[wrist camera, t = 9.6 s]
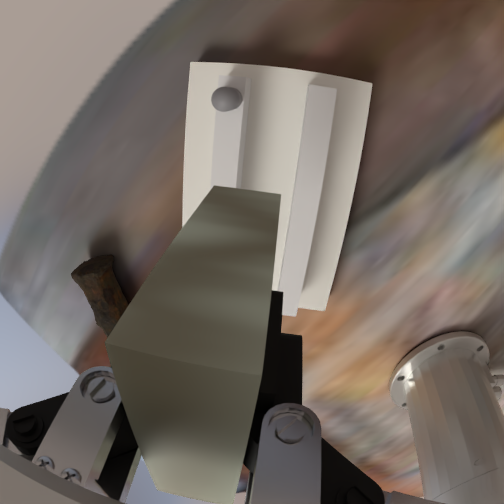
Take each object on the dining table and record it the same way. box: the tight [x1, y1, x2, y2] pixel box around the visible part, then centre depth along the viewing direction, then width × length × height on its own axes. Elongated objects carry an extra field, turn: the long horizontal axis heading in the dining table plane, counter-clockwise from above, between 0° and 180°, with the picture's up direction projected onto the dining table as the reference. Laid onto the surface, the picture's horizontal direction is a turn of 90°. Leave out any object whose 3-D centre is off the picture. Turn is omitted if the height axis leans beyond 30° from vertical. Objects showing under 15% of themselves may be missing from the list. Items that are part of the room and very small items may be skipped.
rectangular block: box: [105, 185, 281, 504], centre depth 10 cm, size 2×7×8 cm, turn 173°
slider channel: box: [182, 62, 372, 317], centre depth 21 cm, size 12×18×6 cm, turn 174°
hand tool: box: [71, 255, 129, 337], centre depth 31 cm, size 19×4×5 cm, turn 9°
